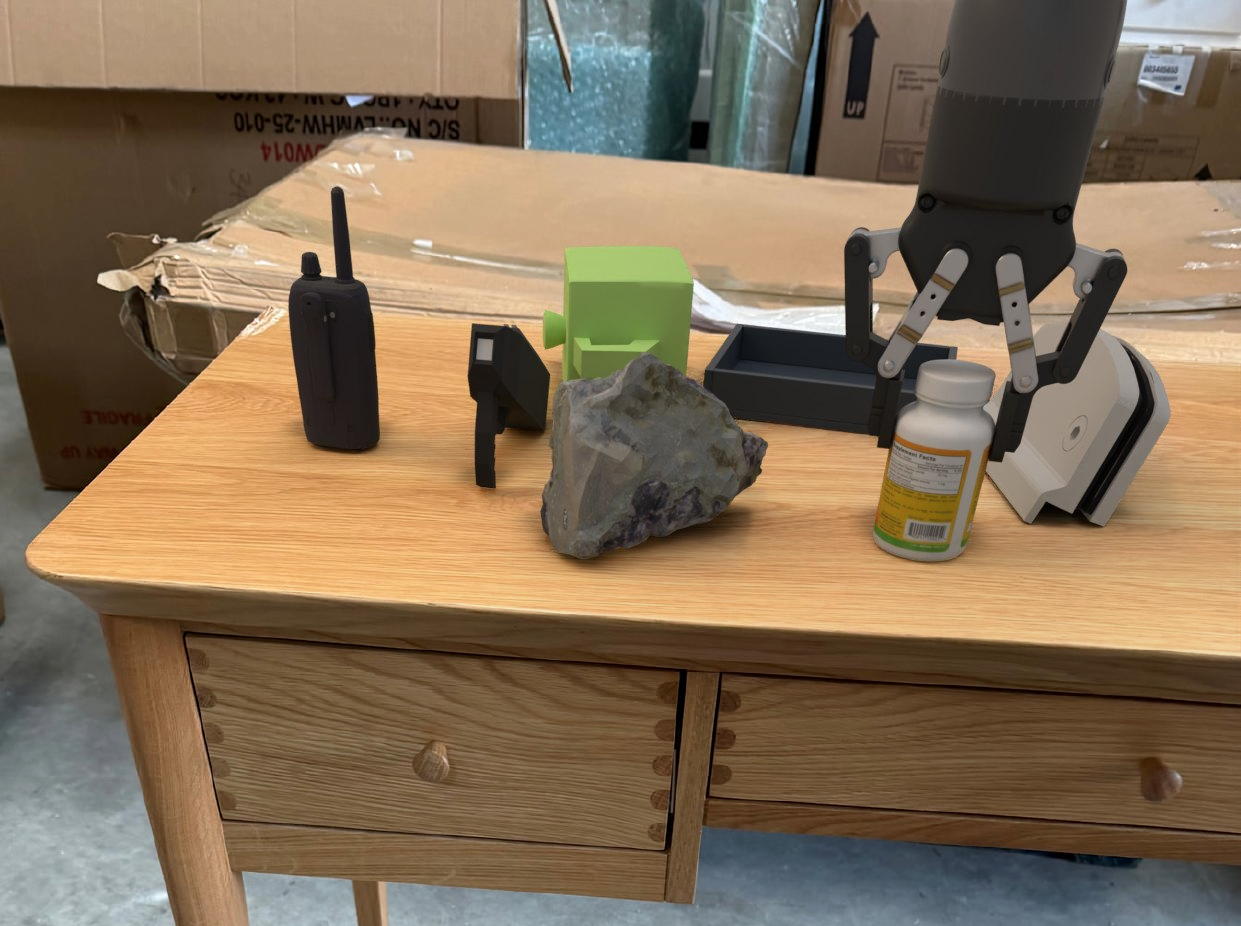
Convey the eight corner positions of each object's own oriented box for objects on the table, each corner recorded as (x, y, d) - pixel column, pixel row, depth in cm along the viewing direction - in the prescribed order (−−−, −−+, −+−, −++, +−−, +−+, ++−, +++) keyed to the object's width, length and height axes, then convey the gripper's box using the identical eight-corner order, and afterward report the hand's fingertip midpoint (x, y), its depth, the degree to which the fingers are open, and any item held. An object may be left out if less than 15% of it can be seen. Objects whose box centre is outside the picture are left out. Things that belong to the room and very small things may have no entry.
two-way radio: (391, 440, 79) (372, 184, 69) (365, 463, 76) (342, 197, 66) (315, 431, 80) (286, 177, 70) (286, 452, 77) (252, 189, 67)
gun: (543, 511, 84) (557, 363, 82) (496, 480, 69) (512, 296, 67) (504, 507, 85) (517, 360, 83) (449, 476, 69) (463, 293, 67)
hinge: (954, 430, 84) (1038, 287, 78) (1010, 454, 85) (1097, 315, 79) (1025, 523, 71) (1132, 360, 65) (1090, 550, 72) (1201, 392, 66)
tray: (948, 388, 92) (958, 346, 90) (941, 443, 82) (951, 397, 80) (732, 364, 95) (736, 323, 93) (700, 414, 85) (704, 369, 83)
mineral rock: (756, 504, 72) (779, 329, 66) (771, 580, 64) (799, 389, 58) (547, 495, 72) (550, 319, 66) (535, 569, 64) (537, 377, 58)
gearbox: (540, 359, 94) (541, 227, 88) (661, 361, 95) (671, 230, 89) (544, 435, 81) (545, 284, 75) (686, 437, 81) (699, 288, 75)
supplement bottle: (920, 519, 71) (958, 349, 65) (985, 553, 68) (1032, 376, 61) (852, 535, 69) (884, 361, 63) (915, 571, 65) (956, 390, 59)
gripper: (1178, 84, 55) (1071, 445, 66) (871, 65, 58) (816, 414, 69) (1197, 101, 50) (1076, 492, 61) (857, 79, 53) (800, 457, 63)
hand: (938, 449), depth 65 cm, fingers closed on supplement bottle, 5 cm apart
